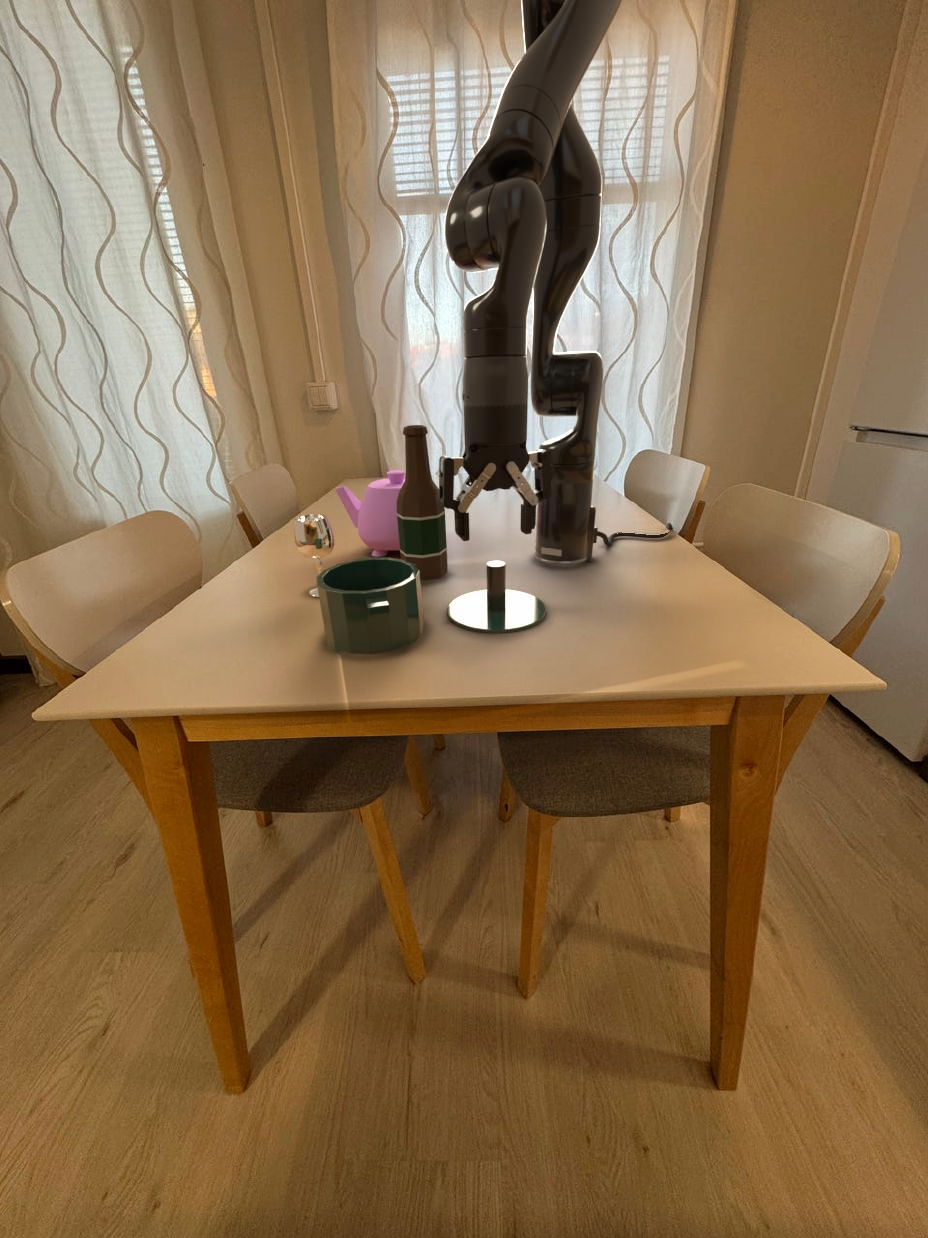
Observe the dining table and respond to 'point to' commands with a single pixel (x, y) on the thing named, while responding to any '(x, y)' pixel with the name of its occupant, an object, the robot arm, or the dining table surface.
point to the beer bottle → (421, 510)
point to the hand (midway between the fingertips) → (495, 536)
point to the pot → (371, 605)
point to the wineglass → (314, 539)
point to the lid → (496, 606)
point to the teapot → (376, 512)
